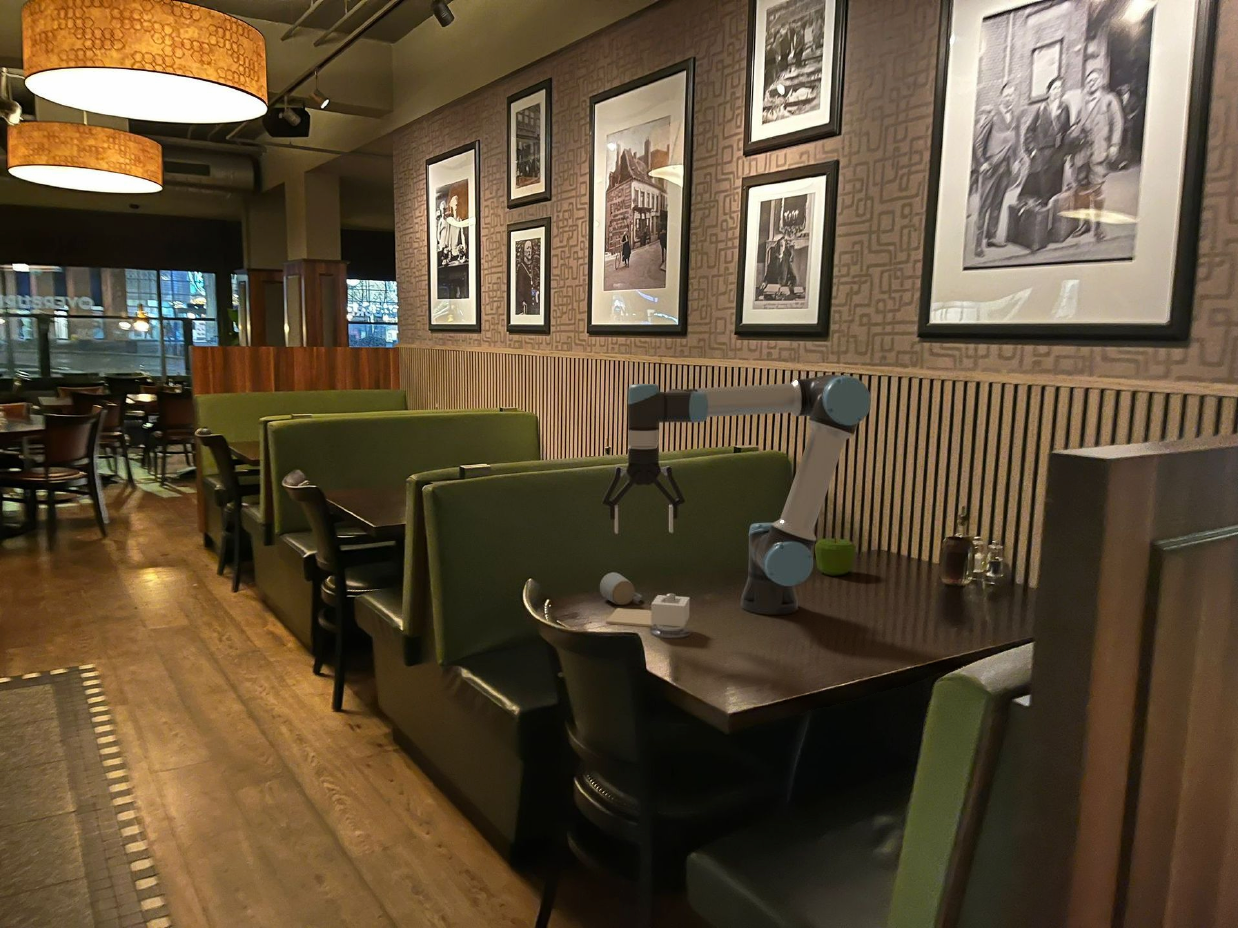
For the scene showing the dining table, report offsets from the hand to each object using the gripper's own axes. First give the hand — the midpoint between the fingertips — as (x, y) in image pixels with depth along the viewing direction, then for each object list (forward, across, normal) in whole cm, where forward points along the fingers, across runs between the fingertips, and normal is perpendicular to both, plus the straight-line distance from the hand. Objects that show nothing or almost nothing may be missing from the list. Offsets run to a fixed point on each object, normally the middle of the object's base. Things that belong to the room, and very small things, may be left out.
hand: (643, 532), depth 222 cm
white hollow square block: (+21, -6, +6) cm, 23 cm away
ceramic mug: (+24, +5, -21) cm, 32 cm away
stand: (+24, -6, +6) cm, 25 cm away
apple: (+25, -63, -52) cm, 85 cm away
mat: (+24, +2, -5) cm, 24 cm away
